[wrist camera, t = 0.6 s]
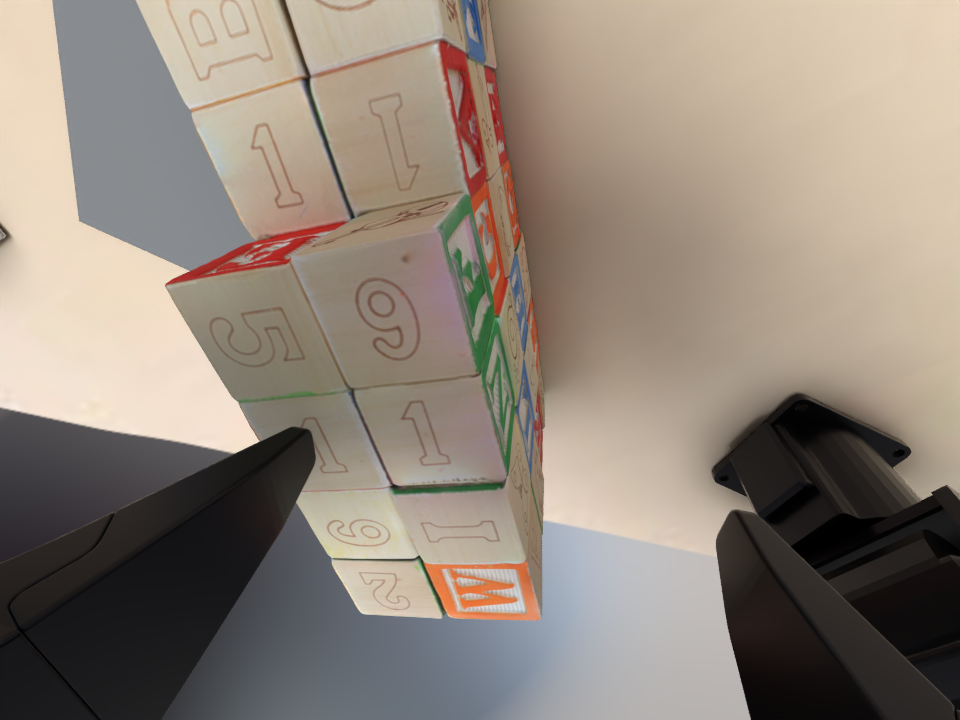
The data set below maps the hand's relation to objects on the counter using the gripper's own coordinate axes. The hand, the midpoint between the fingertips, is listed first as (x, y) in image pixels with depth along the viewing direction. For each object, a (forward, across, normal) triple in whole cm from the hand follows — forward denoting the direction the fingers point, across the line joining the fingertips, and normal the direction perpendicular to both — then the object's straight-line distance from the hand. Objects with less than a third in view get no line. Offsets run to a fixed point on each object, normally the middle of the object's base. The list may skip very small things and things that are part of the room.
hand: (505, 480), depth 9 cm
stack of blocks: (+13, +5, -3) cm, 14 cm away
